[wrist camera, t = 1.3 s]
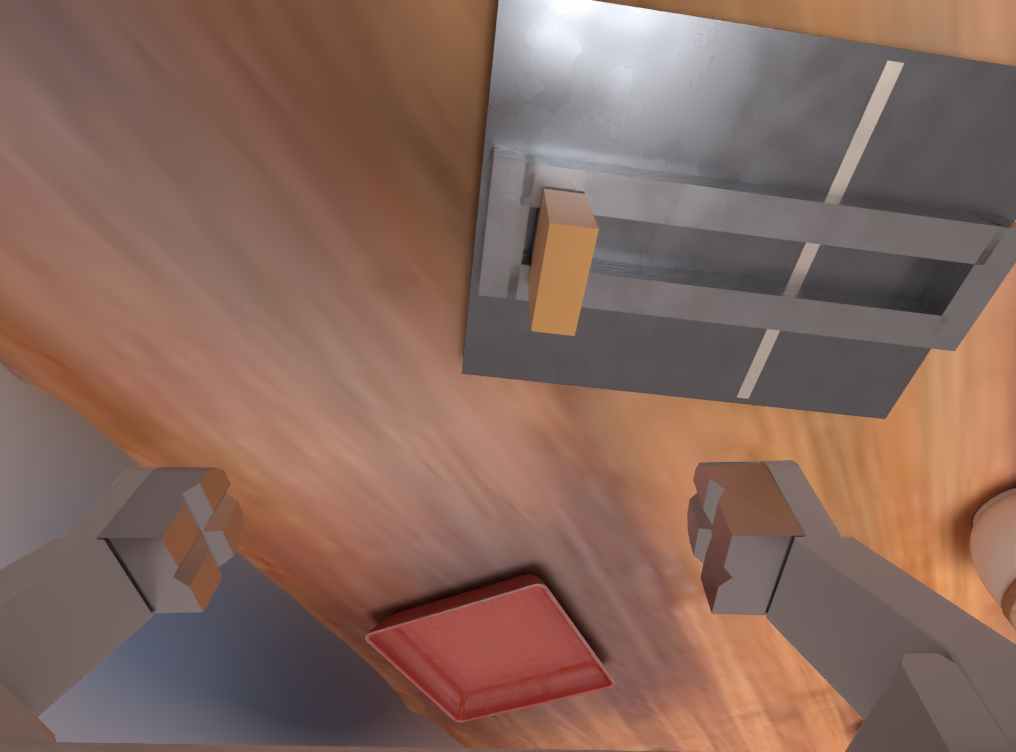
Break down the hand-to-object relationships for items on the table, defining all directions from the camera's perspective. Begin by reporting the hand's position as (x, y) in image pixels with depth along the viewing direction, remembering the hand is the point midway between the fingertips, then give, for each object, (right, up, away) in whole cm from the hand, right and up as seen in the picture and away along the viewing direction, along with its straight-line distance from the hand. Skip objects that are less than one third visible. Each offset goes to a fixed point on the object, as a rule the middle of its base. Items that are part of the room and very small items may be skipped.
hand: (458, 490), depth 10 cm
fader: (+3, +10, +20) cm, 22 cm away
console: (+13, +10, +22) cm, 28 cm away
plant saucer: (0, -23, +46) cm, 51 cm away
